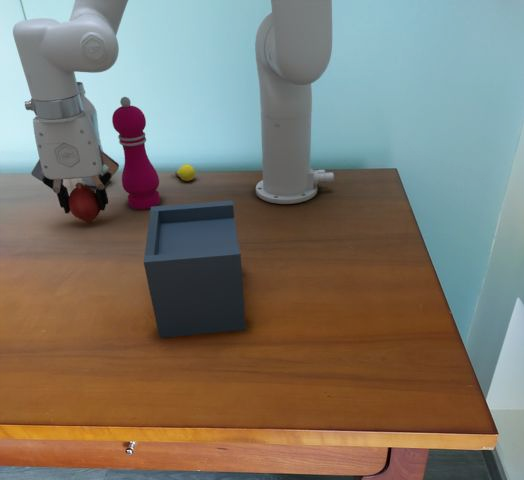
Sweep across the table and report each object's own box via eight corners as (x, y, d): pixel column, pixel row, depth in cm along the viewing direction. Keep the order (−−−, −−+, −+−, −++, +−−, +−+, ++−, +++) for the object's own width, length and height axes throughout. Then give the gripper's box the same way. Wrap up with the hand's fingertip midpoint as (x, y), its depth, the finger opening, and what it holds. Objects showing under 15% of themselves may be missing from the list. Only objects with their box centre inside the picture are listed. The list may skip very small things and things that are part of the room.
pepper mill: (166, 195, 109) (149, 91, 96) (157, 211, 103) (138, 102, 91) (132, 195, 110) (111, 91, 97) (122, 210, 104) (98, 103, 91)
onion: (77, 216, 103) (66, 176, 98) (107, 214, 103) (97, 174, 98) (71, 230, 98) (59, 189, 93) (102, 228, 99) (92, 187, 93)
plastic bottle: (86, 192, 112) (60, 90, 99) (79, 181, 116) (53, 83, 104) (116, 185, 114) (94, 85, 101) (108, 175, 119) (86, 78, 106)
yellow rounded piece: (190, 184, 113) (181, 169, 111) (175, 184, 117) (167, 170, 115) (200, 175, 114) (192, 160, 112) (186, 175, 118) (177, 161, 116)
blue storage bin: (238, 270, 85) (232, 200, 78) (245, 330, 73) (240, 253, 65) (163, 276, 85) (151, 206, 77) (159, 338, 72) (143, 262, 65)
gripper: (-1, 117, 84) (35, 221, 96) (108, 109, 85) (130, 214, 97) (11, 104, 90) (43, 204, 101) (113, 97, 91) (133, 197, 102)
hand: (85, 208), depth 99 cm, fingers closed on onion, 5 cm apart
